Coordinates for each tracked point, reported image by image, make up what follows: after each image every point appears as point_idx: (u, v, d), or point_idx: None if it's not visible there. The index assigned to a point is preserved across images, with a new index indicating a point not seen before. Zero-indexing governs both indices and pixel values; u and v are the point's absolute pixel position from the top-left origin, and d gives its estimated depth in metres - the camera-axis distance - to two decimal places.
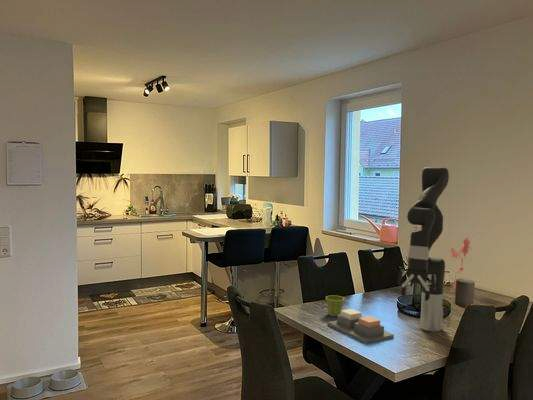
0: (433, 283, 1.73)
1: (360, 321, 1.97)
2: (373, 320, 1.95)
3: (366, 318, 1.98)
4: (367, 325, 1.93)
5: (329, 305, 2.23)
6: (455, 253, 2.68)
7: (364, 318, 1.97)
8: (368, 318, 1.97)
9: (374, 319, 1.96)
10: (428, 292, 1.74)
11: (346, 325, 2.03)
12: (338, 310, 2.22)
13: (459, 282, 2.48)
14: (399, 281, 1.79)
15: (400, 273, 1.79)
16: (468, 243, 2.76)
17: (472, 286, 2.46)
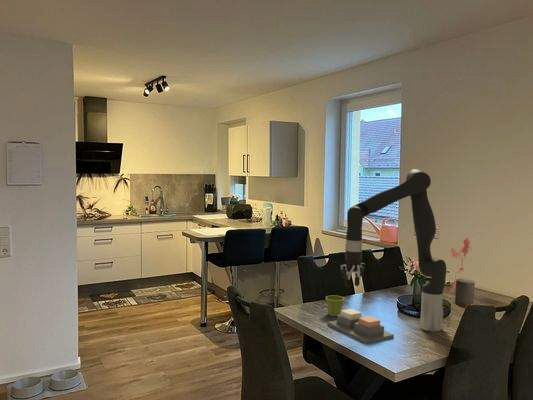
0: None
1: (360, 321, 1.97)
2: (373, 320, 1.95)
3: (366, 318, 1.98)
4: (367, 325, 1.93)
5: (329, 305, 2.23)
6: (455, 253, 2.68)
7: (364, 318, 1.97)
8: (368, 318, 1.97)
9: (374, 319, 1.96)
10: None
11: (346, 325, 2.03)
12: (338, 310, 2.22)
13: (459, 282, 2.48)
14: None
15: None
16: (468, 243, 2.76)
17: (472, 286, 2.46)
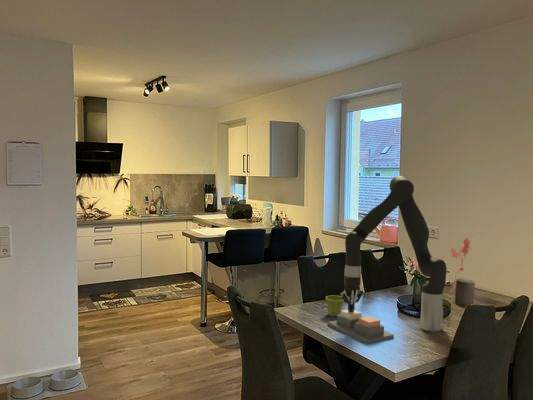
0: None
1: (360, 321, 1.97)
2: (373, 320, 1.95)
3: (366, 318, 1.98)
4: (367, 325, 1.93)
5: (329, 305, 2.23)
6: (455, 253, 2.68)
7: (364, 318, 1.97)
8: (368, 318, 1.97)
9: (374, 319, 1.96)
10: None
11: (346, 325, 2.03)
12: (338, 310, 2.22)
13: (459, 282, 2.48)
14: None
15: None
16: (468, 243, 2.76)
17: (472, 286, 2.46)
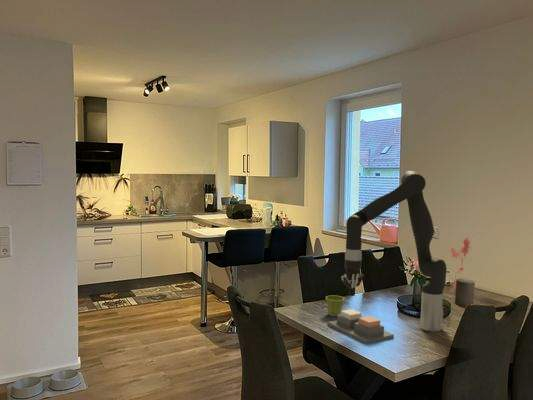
0: None
1: (360, 321, 1.97)
2: (373, 320, 1.95)
3: (366, 318, 1.98)
4: (367, 325, 1.93)
5: (329, 305, 2.23)
6: (455, 253, 2.68)
7: (364, 318, 1.97)
8: (368, 318, 1.97)
9: (374, 319, 1.96)
10: None
11: (346, 325, 2.03)
12: (338, 310, 2.22)
13: (459, 282, 2.48)
14: None
15: None
16: (468, 243, 2.76)
17: (472, 286, 2.46)
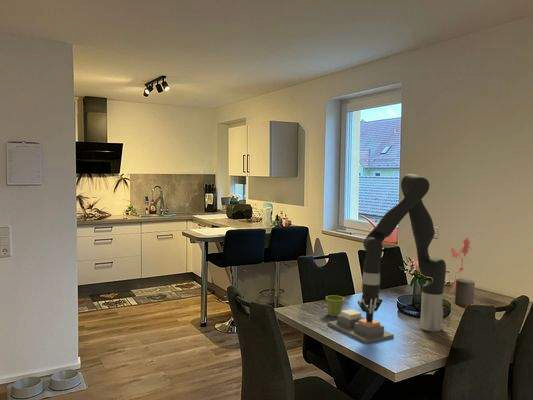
0: None
1: (360, 323, 1.97)
2: (373, 322, 1.95)
3: (366, 320, 1.98)
4: (367, 327, 1.93)
5: (329, 305, 2.23)
6: (455, 253, 2.68)
7: (364, 320, 1.97)
8: None
9: (374, 321, 1.96)
10: None
11: (346, 325, 2.03)
12: (338, 310, 2.22)
13: (459, 282, 2.48)
14: None
15: None
16: (468, 243, 2.76)
17: (472, 286, 2.46)
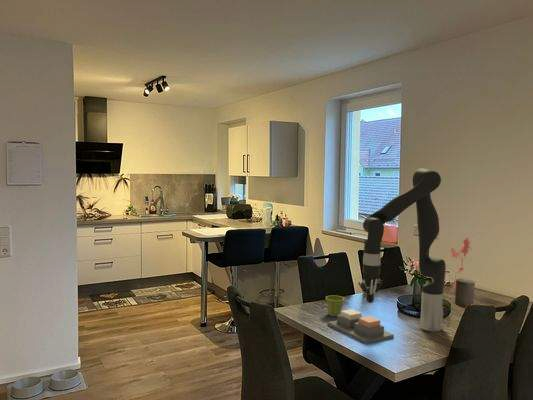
0: None
1: (360, 321, 1.97)
2: (373, 320, 1.95)
3: (366, 318, 1.98)
4: (367, 325, 1.93)
5: (329, 305, 2.23)
6: (455, 253, 2.68)
7: (364, 318, 1.97)
8: (368, 318, 1.97)
9: (374, 319, 1.96)
10: None
11: (346, 325, 2.03)
12: (338, 310, 2.22)
13: (459, 282, 2.48)
14: None
15: None
16: (468, 243, 2.76)
17: (472, 286, 2.46)
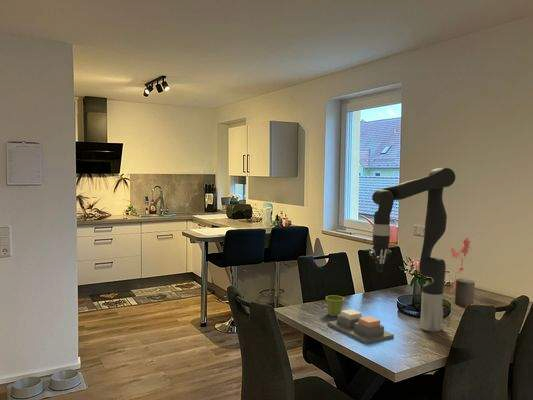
0: None
1: (360, 321, 1.97)
2: (373, 320, 1.95)
3: (366, 318, 1.98)
4: (367, 325, 1.93)
5: (329, 305, 2.23)
6: (455, 253, 2.68)
7: (364, 318, 1.97)
8: (368, 318, 1.97)
9: (374, 319, 1.96)
10: None
11: (346, 325, 2.03)
12: (338, 310, 2.22)
13: (459, 282, 2.48)
14: None
15: None
16: (468, 243, 2.76)
17: (472, 286, 2.46)
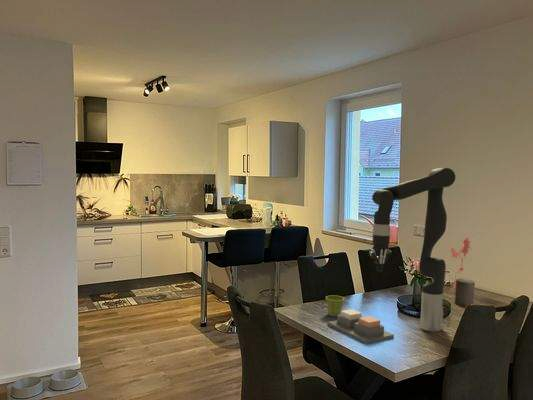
0: None
1: (360, 321, 1.97)
2: (373, 320, 1.95)
3: (366, 318, 1.98)
4: (367, 325, 1.93)
5: (329, 305, 2.23)
6: (455, 253, 2.68)
7: (364, 318, 1.97)
8: (368, 318, 1.97)
9: (374, 319, 1.96)
10: None
11: (346, 325, 2.03)
12: (338, 310, 2.22)
13: (459, 282, 2.48)
14: None
15: None
16: (468, 243, 2.76)
17: (472, 286, 2.46)
